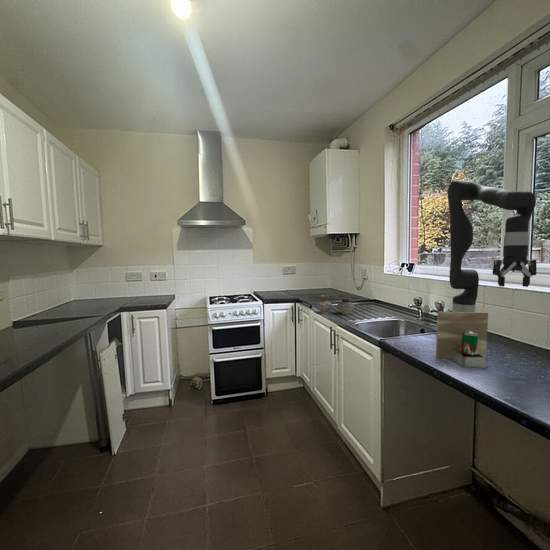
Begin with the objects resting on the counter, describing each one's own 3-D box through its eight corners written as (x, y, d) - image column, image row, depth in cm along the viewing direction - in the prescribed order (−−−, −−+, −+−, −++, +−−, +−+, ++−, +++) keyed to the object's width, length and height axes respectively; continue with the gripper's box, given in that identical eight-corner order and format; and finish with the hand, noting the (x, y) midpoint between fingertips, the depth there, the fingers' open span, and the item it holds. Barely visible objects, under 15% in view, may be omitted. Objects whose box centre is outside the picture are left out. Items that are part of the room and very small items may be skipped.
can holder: (450, 357, 120) (450, 348, 119) (472, 358, 119) (472, 349, 118) (462, 366, 110) (463, 357, 110) (487, 367, 109) (487, 358, 109)
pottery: (317, 311, 213) (317, 294, 213) (354, 312, 208) (354, 295, 207) (316, 314, 202) (316, 296, 202) (354, 316, 197) (355, 298, 196)
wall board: (435, 355, 122) (437, 311, 120) (483, 357, 120) (486, 312, 118) (437, 357, 120) (439, 312, 119) (485, 358, 118) (488, 313, 117)
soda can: (471, 360, 116) (473, 329, 115) (480, 365, 111) (481, 333, 110) (458, 360, 116) (459, 329, 115) (466, 365, 111) (467, 333, 110)
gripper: (528, 244, 119) (526, 285, 121) (490, 244, 121) (488, 285, 122) (543, 244, 112) (540, 287, 113) (502, 244, 113) (499, 287, 115)
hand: (513, 286), depth 118 cm, fingers open, 8 cm apart
